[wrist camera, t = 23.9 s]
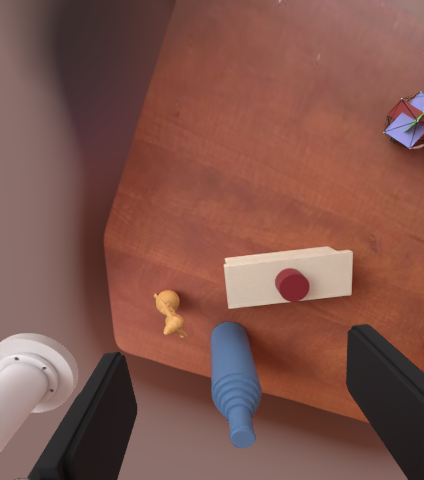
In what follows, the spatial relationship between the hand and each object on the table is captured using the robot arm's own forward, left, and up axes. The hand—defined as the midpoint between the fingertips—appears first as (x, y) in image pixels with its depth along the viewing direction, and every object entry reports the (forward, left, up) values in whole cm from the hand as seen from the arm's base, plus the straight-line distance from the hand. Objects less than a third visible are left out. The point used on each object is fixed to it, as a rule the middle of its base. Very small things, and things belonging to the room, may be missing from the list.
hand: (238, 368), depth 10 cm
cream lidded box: (+5, -12, -30) cm, 33 cm away
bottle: (-10, -19, -30) cm, 37 cm away
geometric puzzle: (+32, -3, -31) cm, 44 cm away
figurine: (-13, -6, -31) cm, 34 cm away
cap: (+5, -12, -22) cm, 26 cm away
